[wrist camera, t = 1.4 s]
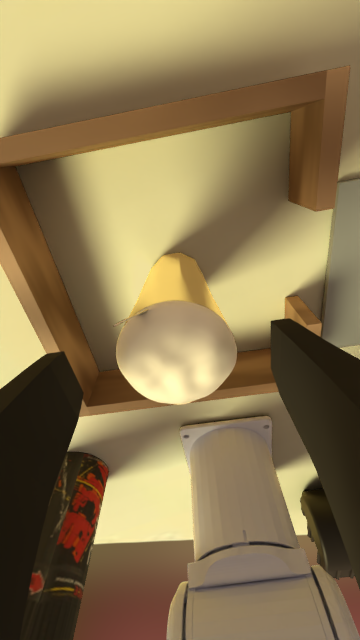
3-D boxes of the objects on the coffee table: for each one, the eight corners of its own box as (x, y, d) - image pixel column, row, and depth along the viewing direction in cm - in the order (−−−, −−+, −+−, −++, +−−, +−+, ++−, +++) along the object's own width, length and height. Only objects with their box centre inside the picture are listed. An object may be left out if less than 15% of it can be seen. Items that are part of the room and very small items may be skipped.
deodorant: (38, 455, 26) (-93, 739, 14) (98, 448, 26) (22, 735, 13) (61, 489, 29) (-29, 748, 17) (115, 483, 29) (67, 745, 16)
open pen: (294, 353, 21) (314, 386, 18) (92, 380, 22) (79, 416, 19) (309, 86, 13) (350, 65, 10) (-8, 151, 14) (-58, 150, 11)
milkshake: (184, 213, 16) (194, 283, 7) (223, 289, 18) (268, 412, 9) (117, 252, 17) (55, 355, 8) (163, 319, 19) (153, 454, 10)
